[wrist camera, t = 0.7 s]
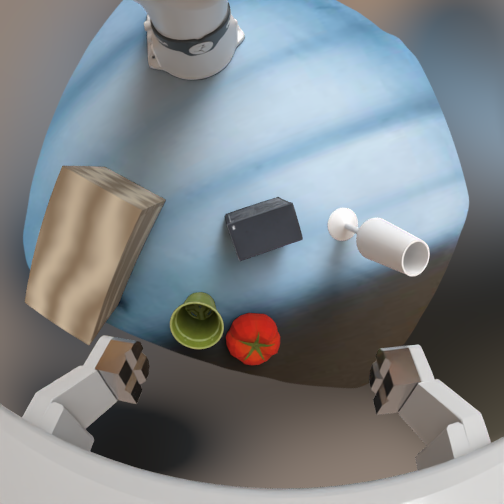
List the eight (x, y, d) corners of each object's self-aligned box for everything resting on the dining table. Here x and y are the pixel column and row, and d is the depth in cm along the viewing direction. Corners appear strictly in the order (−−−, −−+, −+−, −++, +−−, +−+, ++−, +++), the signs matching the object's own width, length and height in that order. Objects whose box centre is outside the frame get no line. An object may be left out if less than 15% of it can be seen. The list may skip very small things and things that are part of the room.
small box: (235, 247, 53) (238, 264, 43) (223, 214, 51) (224, 223, 41) (289, 228, 53) (304, 241, 43) (279, 195, 51) (292, 200, 41)
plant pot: (168, 310, 55) (160, 331, 47) (192, 274, 54) (187, 292, 45) (206, 333, 57) (204, 357, 49) (232, 300, 56) (234, 321, 48)
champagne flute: (361, 234, 55) (436, 271, 32) (332, 245, 55) (398, 291, 32) (353, 203, 53) (431, 224, 30) (323, 213, 53) (391, 242, 30)
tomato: (253, 358, 60) (257, 379, 53) (215, 331, 57) (214, 351, 50) (288, 327, 59) (296, 346, 52) (250, 296, 56) (254, 313, 49)
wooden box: (65, 272, 51) (24, 302, 35) (105, 166, 46) (62, 165, 31) (118, 304, 54) (89, 345, 38) (165, 199, 50) (141, 210, 34)
